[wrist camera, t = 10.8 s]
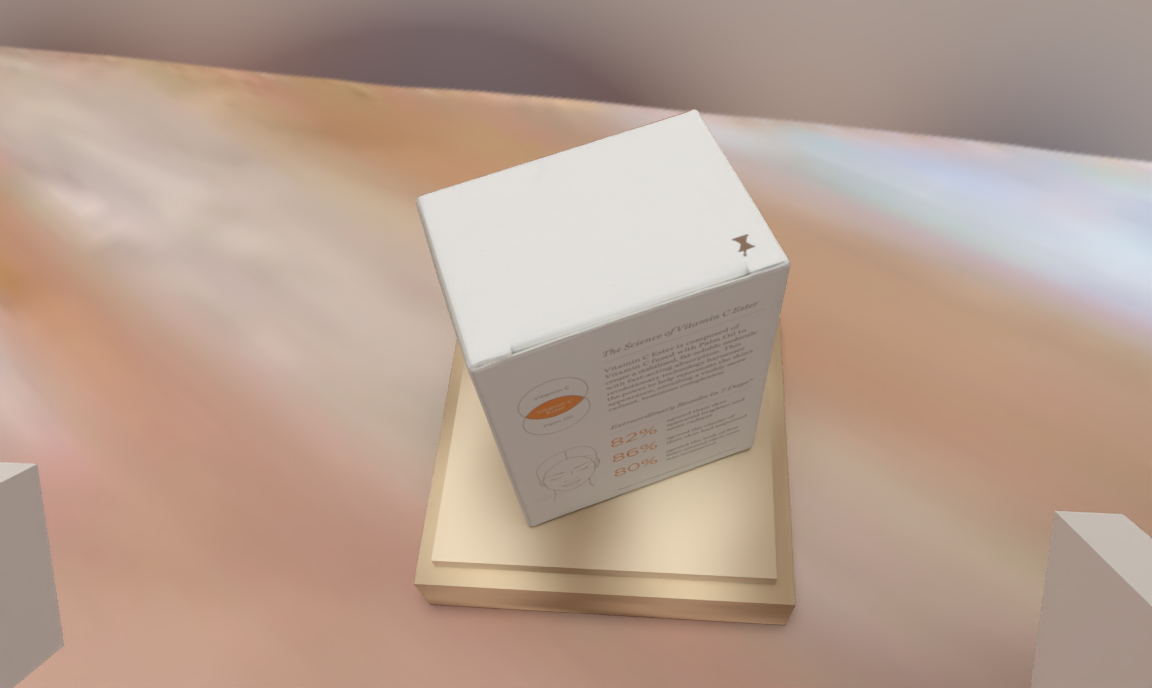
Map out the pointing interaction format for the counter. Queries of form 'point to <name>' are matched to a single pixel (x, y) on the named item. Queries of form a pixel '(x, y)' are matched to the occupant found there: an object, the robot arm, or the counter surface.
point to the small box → (611, 310)
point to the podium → (613, 530)
